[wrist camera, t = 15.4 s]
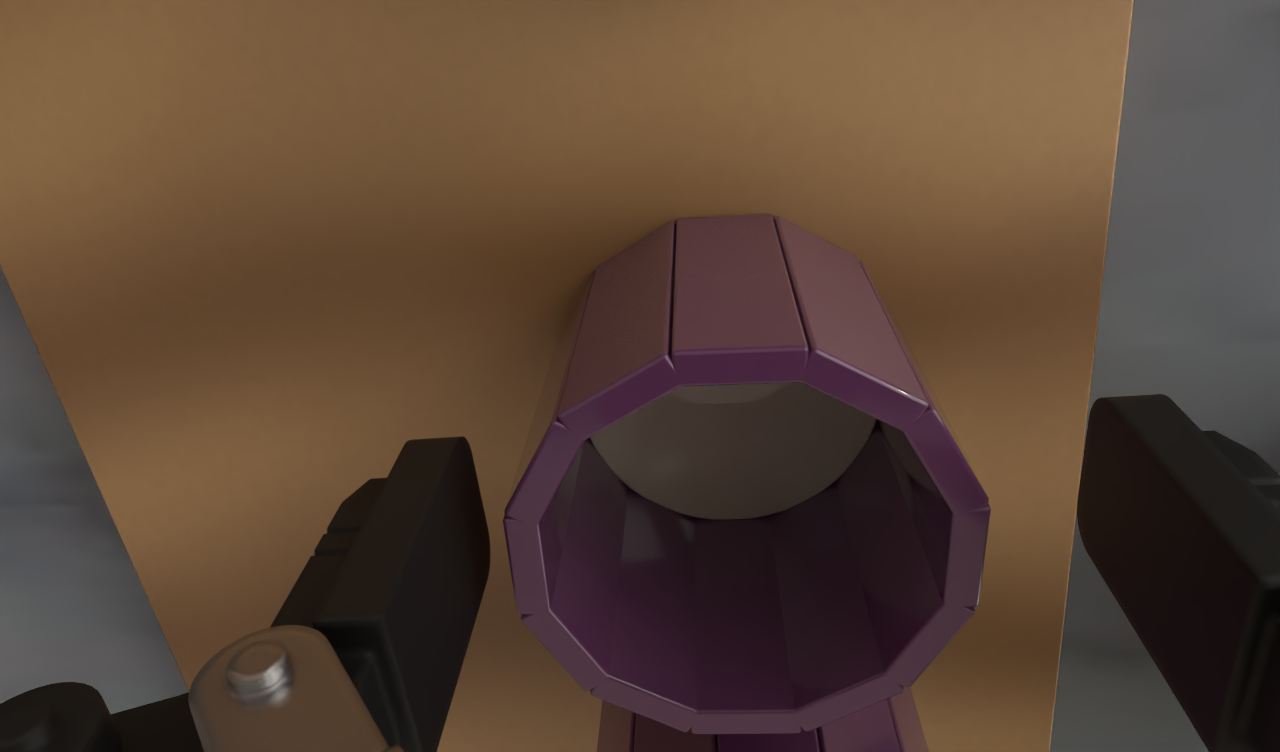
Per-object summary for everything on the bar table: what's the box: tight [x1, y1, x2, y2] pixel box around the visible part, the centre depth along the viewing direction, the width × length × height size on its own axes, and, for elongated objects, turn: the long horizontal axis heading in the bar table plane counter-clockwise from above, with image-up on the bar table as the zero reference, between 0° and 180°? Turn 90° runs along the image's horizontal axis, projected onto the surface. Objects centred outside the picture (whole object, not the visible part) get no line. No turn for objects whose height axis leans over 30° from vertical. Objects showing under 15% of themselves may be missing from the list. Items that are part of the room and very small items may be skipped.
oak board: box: [0, 0, 1134, 752], centre depth 16 cm, size 24×18×2 cm
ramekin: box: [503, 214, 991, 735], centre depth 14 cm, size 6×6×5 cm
